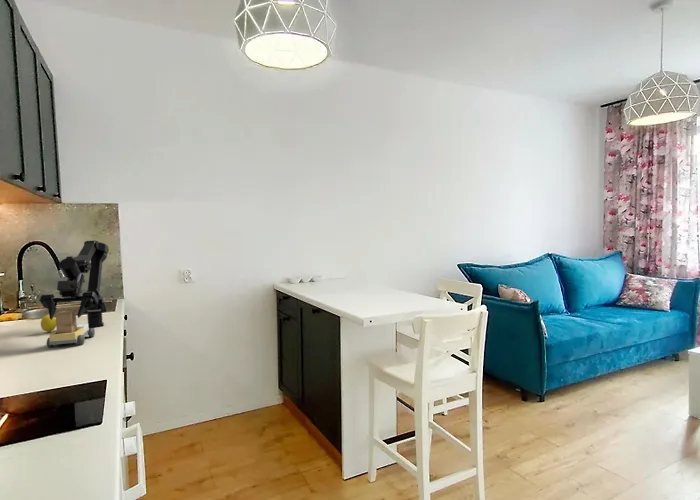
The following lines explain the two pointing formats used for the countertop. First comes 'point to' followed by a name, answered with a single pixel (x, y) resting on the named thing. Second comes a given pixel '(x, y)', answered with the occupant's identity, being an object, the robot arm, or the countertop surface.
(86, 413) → the countertop surface
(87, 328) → the toy chassis
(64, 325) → the walnut block
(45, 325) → the lemon
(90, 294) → the robot arm
